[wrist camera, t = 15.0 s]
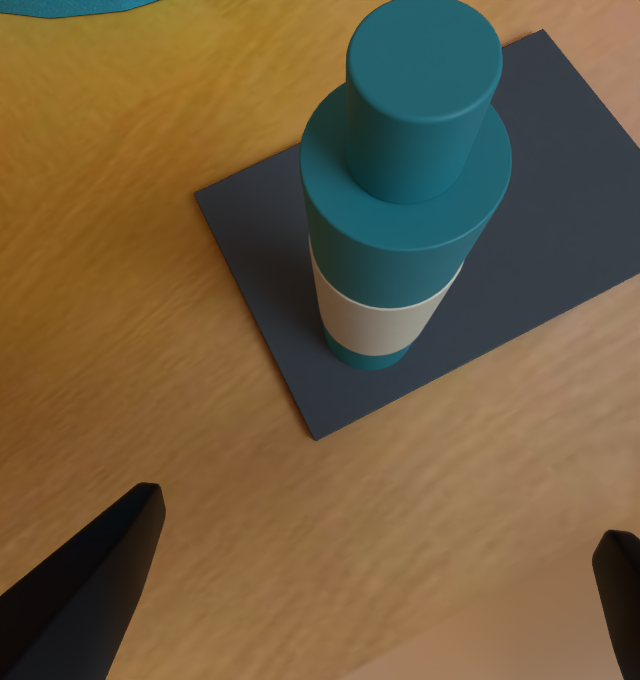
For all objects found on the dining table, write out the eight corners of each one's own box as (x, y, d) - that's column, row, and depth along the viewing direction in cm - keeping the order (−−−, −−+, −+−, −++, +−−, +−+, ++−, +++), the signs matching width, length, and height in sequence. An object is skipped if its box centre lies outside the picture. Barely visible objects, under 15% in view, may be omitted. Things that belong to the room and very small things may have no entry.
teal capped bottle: (396, 386, 18) (526, 223, 5) (308, 351, 18) (233, 127, 6) (428, 301, 19) (608, -19, 6) (343, 270, 19) (342, -85, 6)
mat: (702, 240, 19) (710, 236, 19) (315, 441, 18) (314, 441, 17) (540, 35, 22) (543, 28, 21) (195, 197, 21) (193, 193, 20)
